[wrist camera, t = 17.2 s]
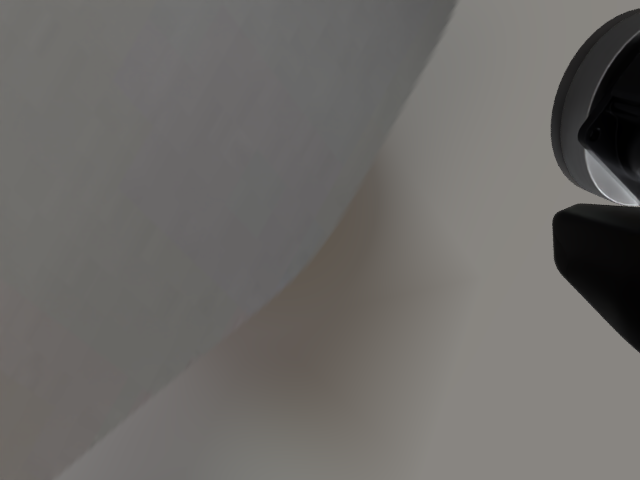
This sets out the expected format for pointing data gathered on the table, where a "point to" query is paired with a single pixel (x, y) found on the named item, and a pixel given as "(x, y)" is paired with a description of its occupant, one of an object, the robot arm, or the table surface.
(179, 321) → the table surface
